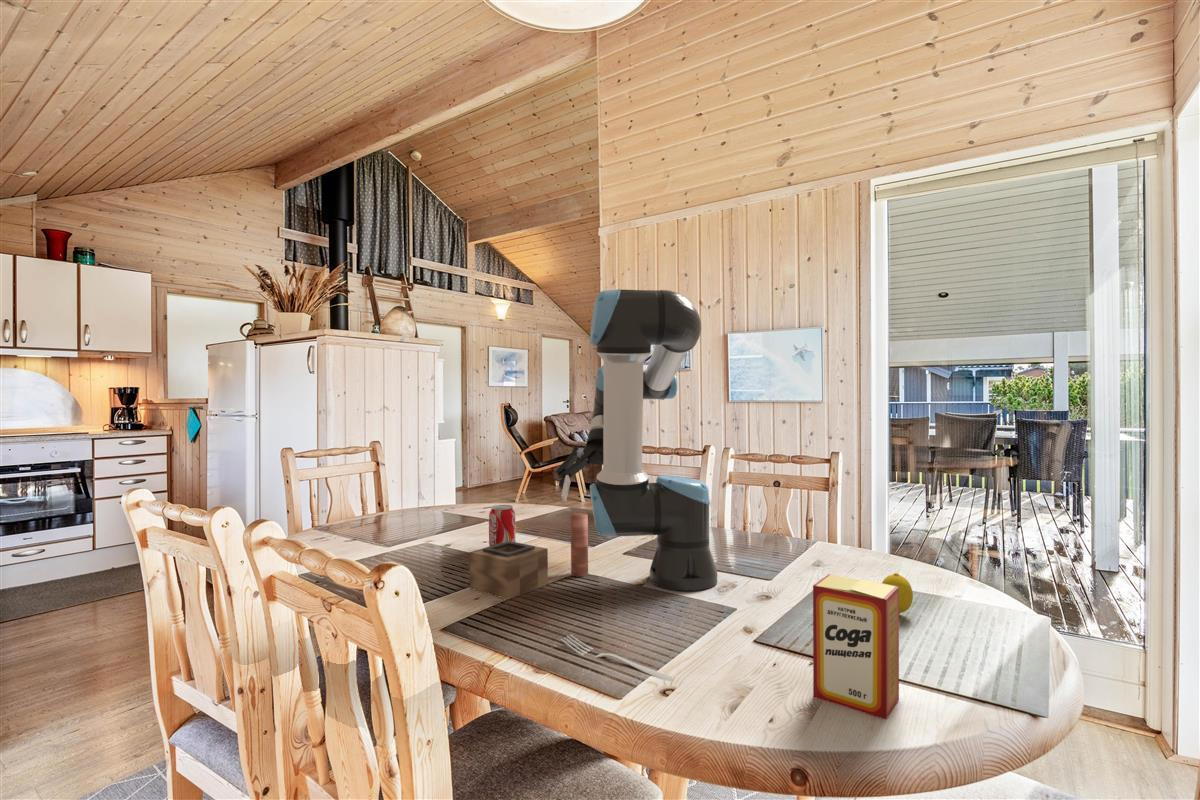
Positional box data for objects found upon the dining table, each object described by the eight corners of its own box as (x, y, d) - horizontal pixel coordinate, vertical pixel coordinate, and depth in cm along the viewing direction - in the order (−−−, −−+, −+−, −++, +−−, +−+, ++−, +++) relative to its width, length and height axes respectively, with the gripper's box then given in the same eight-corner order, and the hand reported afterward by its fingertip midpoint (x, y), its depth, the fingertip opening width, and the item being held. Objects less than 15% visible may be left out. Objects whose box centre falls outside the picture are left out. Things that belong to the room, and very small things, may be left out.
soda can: (513, 554, 159) (512, 509, 159) (486, 554, 160) (486, 509, 159) (517, 547, 166) (517, 504, 166) (491, 547, 167) (491, 504, 166)
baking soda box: (813, 696, 84) (813, 582, 84) (829, 679, 89) (828, 571, 89) (886, 719, 78) (886, 596, 78) (898, 699, 83) (898, 584, 83)
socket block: (547, 584, 134) (547, 545, 134) (508, 599, 125) (508, 558, 125) (509, 574, 142) (509, 538, 142) (470, 588, 132) (469, 549, 132)
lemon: (910, 611, 116) (910, 570, 116) (914, 622, 111) (915, 578, 111) (878, 608, 118) (878, 567, 118) (881, 618, 113) (881, 576, 113)
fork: (685, 692, 87) (685, 680, 87) (558, 649, 101) (558, 639, 101) (696, 684, 89) (696, 672, 89) (571, 643, 104) (571, 633, 104)
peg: (591, 573, 142) (591, 514, 142) (580, 578, 139) (580, 517, 139) (578, 570, 145) (577, 512, 144) (567, 574, 141) (567, 515, 141)
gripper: (648, 445, 166) (640, 509, 152) (561, 444, 172) (545, 506, 157) (645, 426, 161) (636, 492, 147) (555, 426, 167) (538, 489, 152)
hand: (589, 499), depth 152 cm, fingers open, 13 cm apart
